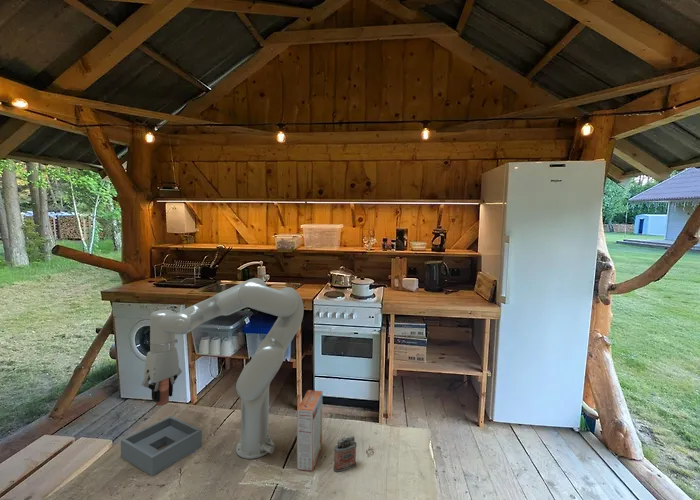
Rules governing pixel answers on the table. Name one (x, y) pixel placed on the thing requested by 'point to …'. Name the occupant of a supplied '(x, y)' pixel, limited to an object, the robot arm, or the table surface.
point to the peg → (163, 392)
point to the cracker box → (309, 430)
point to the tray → (160, 444)
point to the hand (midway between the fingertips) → (162, 397)
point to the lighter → (345, 454)
